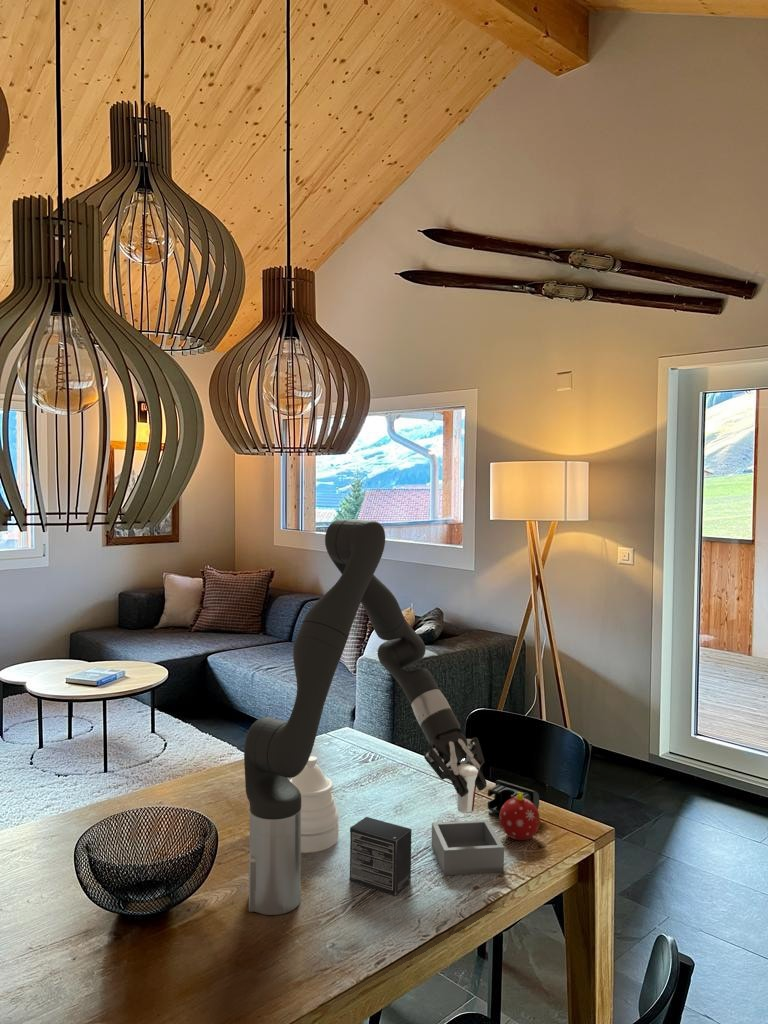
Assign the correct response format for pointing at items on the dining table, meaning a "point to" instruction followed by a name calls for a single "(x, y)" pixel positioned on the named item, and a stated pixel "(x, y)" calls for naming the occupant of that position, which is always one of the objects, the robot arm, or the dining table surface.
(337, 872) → the dining table surface
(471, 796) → the milkshake
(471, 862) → the bin
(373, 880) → the small box
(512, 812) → the christmas ornament
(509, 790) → the end cap
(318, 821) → the honey pot
